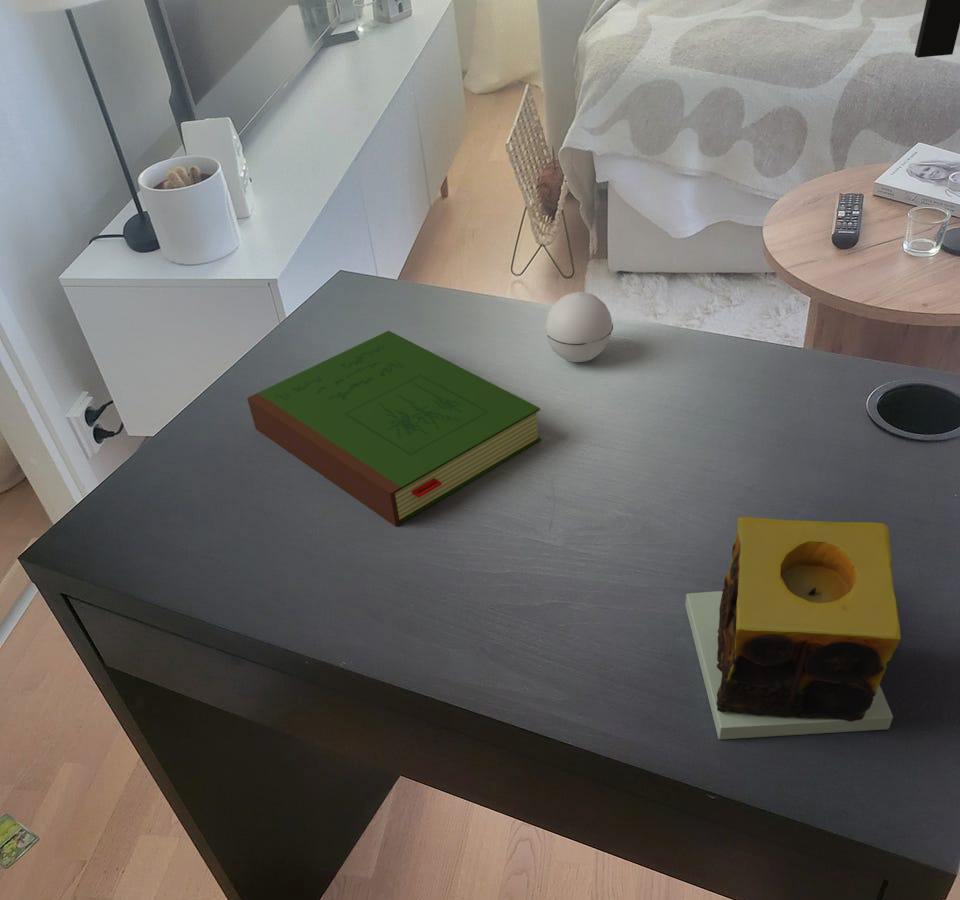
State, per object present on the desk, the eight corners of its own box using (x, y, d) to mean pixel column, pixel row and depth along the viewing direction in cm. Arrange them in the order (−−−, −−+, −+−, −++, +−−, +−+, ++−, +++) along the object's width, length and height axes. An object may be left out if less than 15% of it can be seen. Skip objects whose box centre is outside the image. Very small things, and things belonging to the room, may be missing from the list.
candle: (715, 714, 67) (731, 632, 59) (716, 602, 73) (731, 513, 65) (866, 726, 66) (904, 643, 58) (855, 610, 71) (888, 520, 63)
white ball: (532, 361, 107) (529, 299, 101) (575, 335, 110) (575, 273, 105) (600, 390, 101) (601, 326, 96) (644, 362, 105) (647, 298, 99)
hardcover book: (255, 428, 101) (247, 397, 98) (393, 360, 109) (388, 330, 106) (400, 529, 87) (395, 496, 84) (546, 443, 95) (545, 410, 92)
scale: (840, 582, 78) (847, 554, 76) (902, 728, 67) (913, 701, 65) (682, 593, 78) (684, 566, 76) (718, 740, 68) (723, 713, 65)
